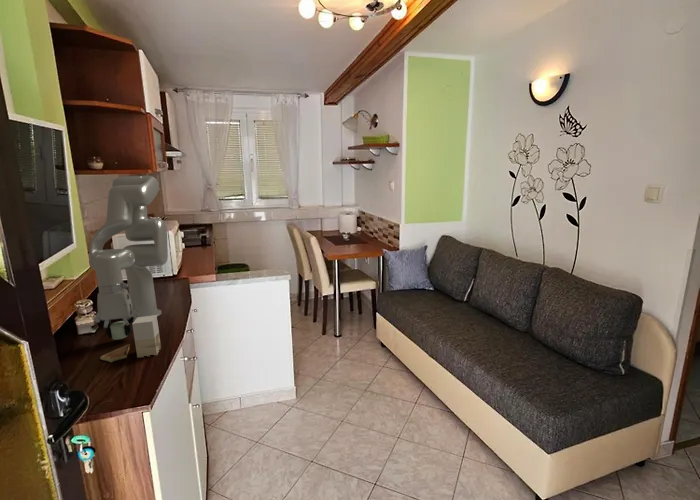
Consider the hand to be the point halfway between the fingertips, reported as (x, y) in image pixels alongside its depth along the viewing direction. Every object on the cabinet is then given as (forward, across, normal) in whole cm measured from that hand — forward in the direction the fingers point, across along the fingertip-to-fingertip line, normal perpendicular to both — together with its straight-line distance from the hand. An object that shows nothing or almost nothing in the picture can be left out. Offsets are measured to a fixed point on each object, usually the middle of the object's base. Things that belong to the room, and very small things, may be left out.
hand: (119, 334), depth 140 cm
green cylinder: (+1, 0, 0) cm, 1 cm away
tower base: (+2, -13, +14) cm, 19 cm away
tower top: (-4, -13, +14) cm, 19 cm away
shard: (+3, -2, +12) cm, 13 cm away
